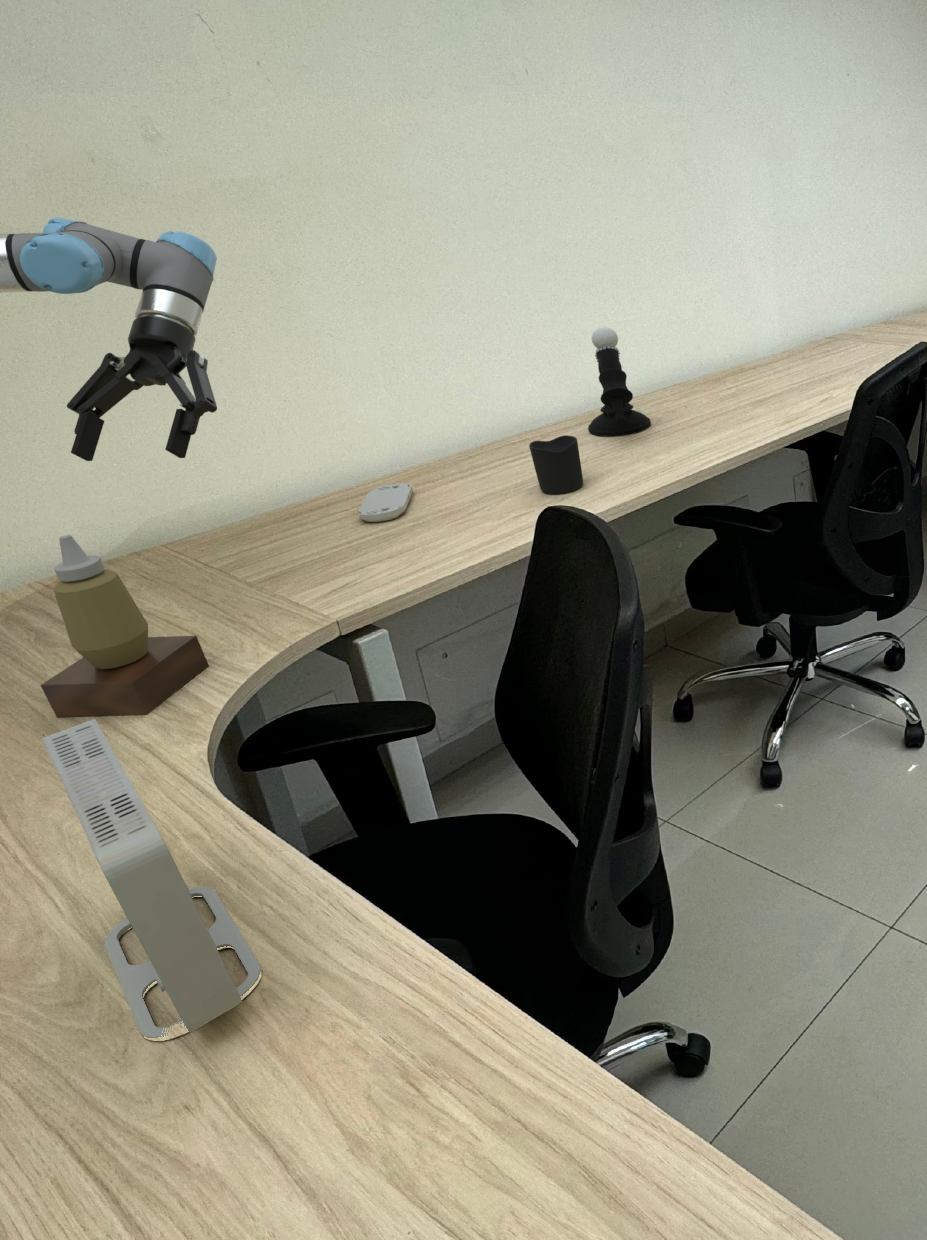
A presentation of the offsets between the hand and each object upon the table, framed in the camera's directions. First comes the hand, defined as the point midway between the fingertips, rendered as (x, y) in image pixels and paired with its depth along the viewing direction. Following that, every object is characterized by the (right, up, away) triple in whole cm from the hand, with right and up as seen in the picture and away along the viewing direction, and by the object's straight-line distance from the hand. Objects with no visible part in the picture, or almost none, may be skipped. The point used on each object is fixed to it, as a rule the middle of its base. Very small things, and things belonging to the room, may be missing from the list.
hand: (128, 455), depth 130 cm
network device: (+45, -51, -47) cm, 83 cm away
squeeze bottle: (+5, -28, -7) cm, 30 cm away
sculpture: (+42, +17, +97) cm, 107 cm away
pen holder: (+40, 0, +62) cm, 74 cm away
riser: (+5, -33, -5) cm, 34 cm away
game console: (+7, -4, +55) cm, 56 cm away
